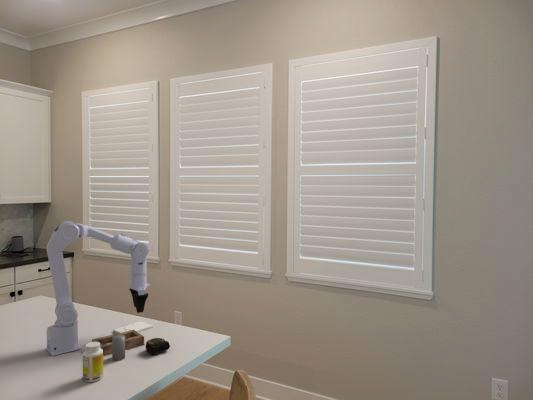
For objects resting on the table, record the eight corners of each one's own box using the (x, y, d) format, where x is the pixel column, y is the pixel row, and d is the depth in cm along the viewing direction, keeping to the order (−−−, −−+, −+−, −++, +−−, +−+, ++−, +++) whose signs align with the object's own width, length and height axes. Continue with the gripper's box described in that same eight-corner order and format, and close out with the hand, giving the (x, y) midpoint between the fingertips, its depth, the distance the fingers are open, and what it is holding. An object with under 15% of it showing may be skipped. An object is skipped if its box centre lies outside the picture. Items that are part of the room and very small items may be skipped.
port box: (101, 356, 134) (100, 346, 134) (92, 347, 141) (92, 338, 141) (144, 344, 144) (144, 336, 144) (133, 337, 151) (133, 329, 150)
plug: (114, 361, 130) (114, 340, 130) (110, 357, 133) (110, 336, 133) (127, 358, 133) (127, 337, 132) (122, 354, 136) (122, 334, 135)
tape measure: (152, 357, 134) (152, 346, 133) (142, 351, 138) (142, 340, 138) (170, 351, 138) (170, 341, 138) (159, 346, 143) (159, 335, 143)
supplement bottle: (105, 373, 122) (105, 340, 121) (99, 382, 116) (99, 347, 116) (86, 374, 121) (86, 340, 121) (79, 383, 116) (79, 348, 115)
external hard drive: (152, 329, 161) (125, 338, 151) (140, 324, 166) (112, 333, 156) (152, 325, 161) (125, 334, 151) (140, 320, 166) (112, 329, 156)
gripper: (152, 276, 147) (152, 313, 148) (146, 269, 160) (146, 303, 161) (132, 278, 144) (132, 316, 145) (127, 270, 157) (127, 305, 158)
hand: (138, 309), depth 152 cm, fingers open, 7 cm apart
